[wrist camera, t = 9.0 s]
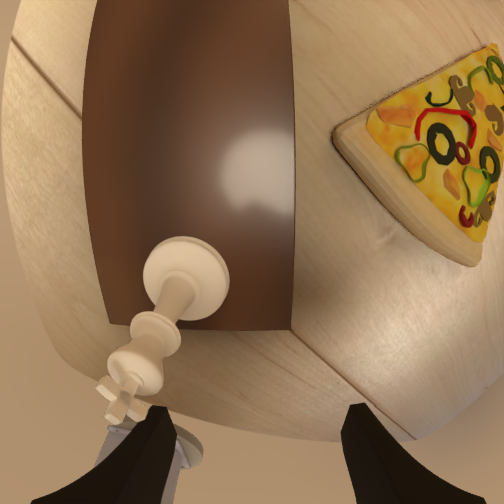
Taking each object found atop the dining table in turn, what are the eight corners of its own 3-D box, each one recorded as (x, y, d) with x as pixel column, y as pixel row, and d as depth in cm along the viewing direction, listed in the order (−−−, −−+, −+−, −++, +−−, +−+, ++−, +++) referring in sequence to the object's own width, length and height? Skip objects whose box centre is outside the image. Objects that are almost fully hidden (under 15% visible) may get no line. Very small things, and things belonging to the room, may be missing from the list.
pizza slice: (314, 157, 16) (325, 156, 13) (427, -13, 10) (444, -26, 7) (455, 277, 18) (475, 292, 16) (531, 107, 13) (550, 107, 10)
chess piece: (184, 328, 16) (133, 469, 7) (130, 269, 15) (25, 381, 6) (247, 287, 15) (236, 445, 6) (190, 217, 14) (84, 318, 5)
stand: (126, 303, 19) (102, 333, 16) (147, -91, 7) (136, -111, 3) (286, 306, 19) (293, 341, 15) (269, -106, 7) (270, -129, 3)
